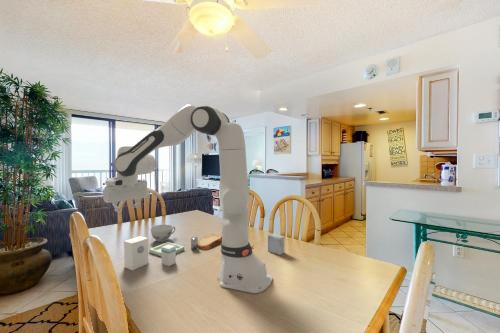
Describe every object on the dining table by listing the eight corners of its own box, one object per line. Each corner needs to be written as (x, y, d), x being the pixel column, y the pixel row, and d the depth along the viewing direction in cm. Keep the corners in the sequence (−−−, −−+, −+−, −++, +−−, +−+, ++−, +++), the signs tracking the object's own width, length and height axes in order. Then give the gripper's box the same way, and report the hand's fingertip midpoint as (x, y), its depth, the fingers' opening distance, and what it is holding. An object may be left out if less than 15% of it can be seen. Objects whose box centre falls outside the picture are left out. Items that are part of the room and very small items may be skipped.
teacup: (156, 245, 132) (156, 231, 131) (147, 240, 140) (147, 227, 140) (180, 239, 143) (180, 226, 142) (170, 234, 151) (170, 222, 151)
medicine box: (284, 252, 122) (284, 236, 122) (279, 255, 119) (279, 238, 118) (272, 249, 127) (272, 233, 127) (267, 251, 124) (267, 235, 124)
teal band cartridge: (175, 262, 110) (175, 246, 110) (168, 266, 107) (168, 249, 107) (168, 260, 113) (168, 244, 113) (161, 263, 110) (161, 246, 109)
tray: (184, 250, 126) (184, 246, 126) (166, 258, 115) (166, 254, 115) (167, 245, 132) (167, 242, 132) (149, 252, 122) (149, 249, 122)
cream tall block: (149, 263, 109) (148, 238, 109) (133, 270, 103) (132, 243, 102) (140, 260, 113) (139, 235, 113) (123, 266, 106) (123, 240, 106)
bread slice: (199, 251, 125) (199, 244, 124) (193, 240, 141) (193, 234, 141) (231, 246, 132) (231, 239, 132) (222, 236, 148) (222, 230, 148)
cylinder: (199, 248, 128) (199, 237, 128) (194, 250, 125) (194, 239, 125) (194, 247, 130) (194, 236, 130) (189, 249, 127) (189, 238, 126)
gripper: (143, 178, 121) (142, 205, 122) (101, 181, 104) (101, 212, 104) (150, 179, 118) (150, 206, 119) (109, 182, 100) (109, 214, 101)
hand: (127, 209), depth 111 cm, fingers open, 8 cm apart
